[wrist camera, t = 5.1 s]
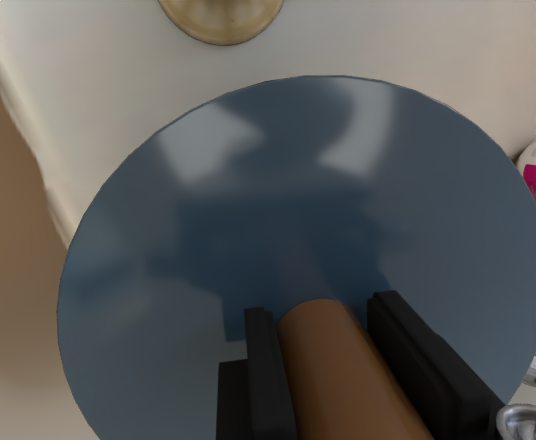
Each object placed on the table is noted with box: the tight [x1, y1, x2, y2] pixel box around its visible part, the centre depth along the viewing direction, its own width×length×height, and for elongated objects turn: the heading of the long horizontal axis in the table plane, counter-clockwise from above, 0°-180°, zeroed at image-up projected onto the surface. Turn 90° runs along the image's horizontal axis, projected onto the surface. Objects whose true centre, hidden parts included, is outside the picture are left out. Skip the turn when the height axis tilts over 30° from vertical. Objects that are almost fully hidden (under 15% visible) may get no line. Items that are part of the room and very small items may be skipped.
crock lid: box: [57, 75, 536, 440], centre depth 9 cm, size 14×14×6 cm
